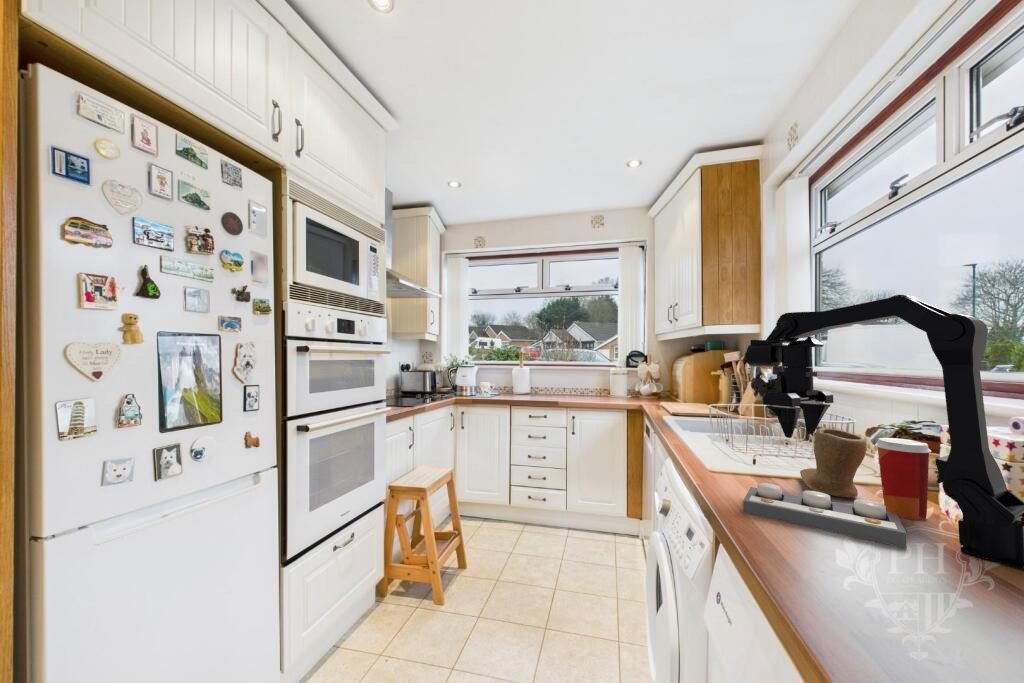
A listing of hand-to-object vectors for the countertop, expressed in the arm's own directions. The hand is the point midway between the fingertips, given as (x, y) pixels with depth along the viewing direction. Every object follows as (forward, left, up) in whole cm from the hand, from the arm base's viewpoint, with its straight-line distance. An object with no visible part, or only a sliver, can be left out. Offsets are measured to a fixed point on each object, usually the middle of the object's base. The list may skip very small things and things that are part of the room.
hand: (799, 435), depth 88 cm
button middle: (-6, +8, -12) cm, 16 cm away
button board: (-7, +9, -14) cm, 18 cm away
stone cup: (0, -14, -15) cm, 20 cm away
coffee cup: (-14, -10, -15) cm, 23 cm away
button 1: (+1, +11, -12) cm, 16 cm away
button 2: (-14, +4, -12) cm, 19 cm away
